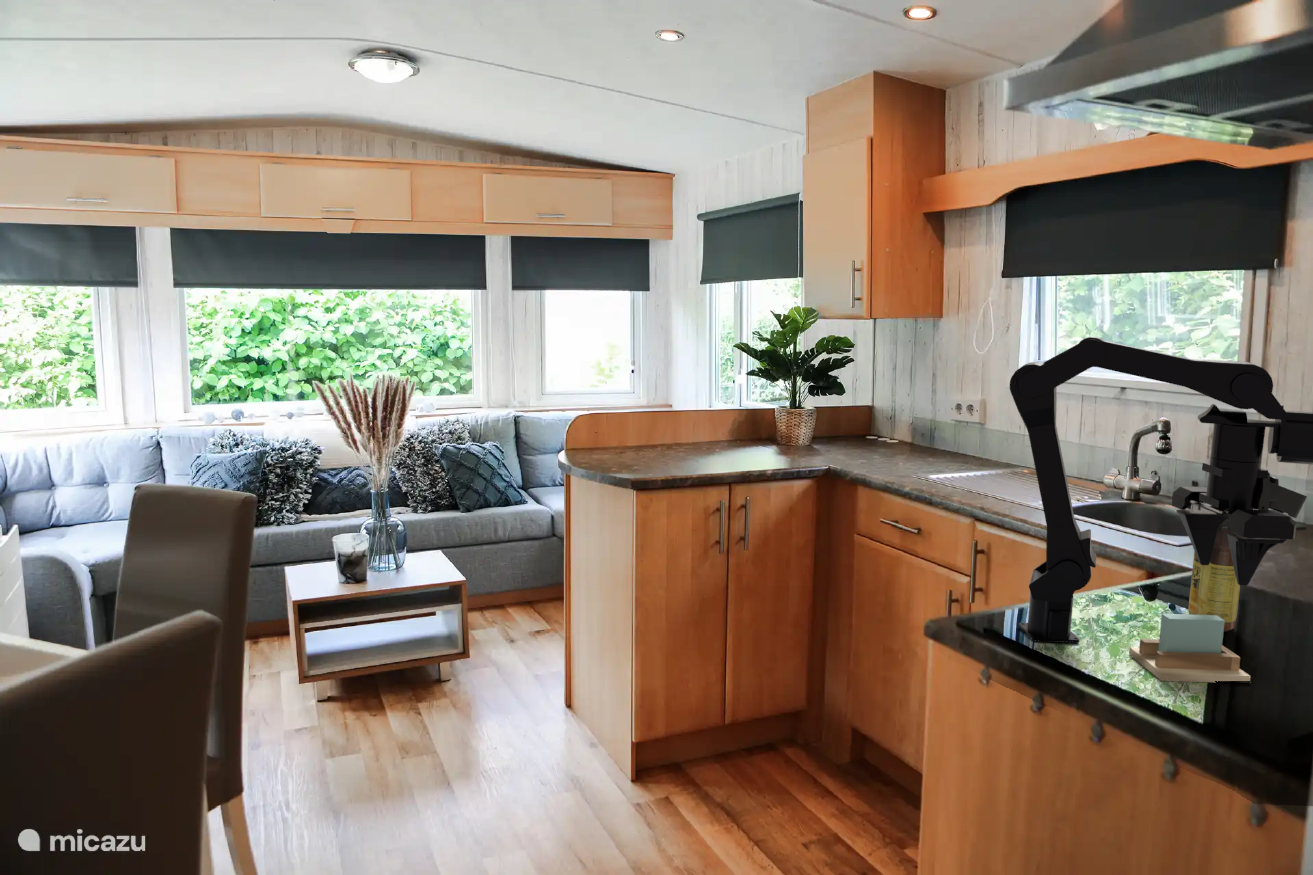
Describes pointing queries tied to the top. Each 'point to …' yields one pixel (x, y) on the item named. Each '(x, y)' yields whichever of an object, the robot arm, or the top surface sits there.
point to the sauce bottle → (1216, 582)
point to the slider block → (1191, 633)
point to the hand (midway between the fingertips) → (1222, 574)
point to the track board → (1188, 664)
